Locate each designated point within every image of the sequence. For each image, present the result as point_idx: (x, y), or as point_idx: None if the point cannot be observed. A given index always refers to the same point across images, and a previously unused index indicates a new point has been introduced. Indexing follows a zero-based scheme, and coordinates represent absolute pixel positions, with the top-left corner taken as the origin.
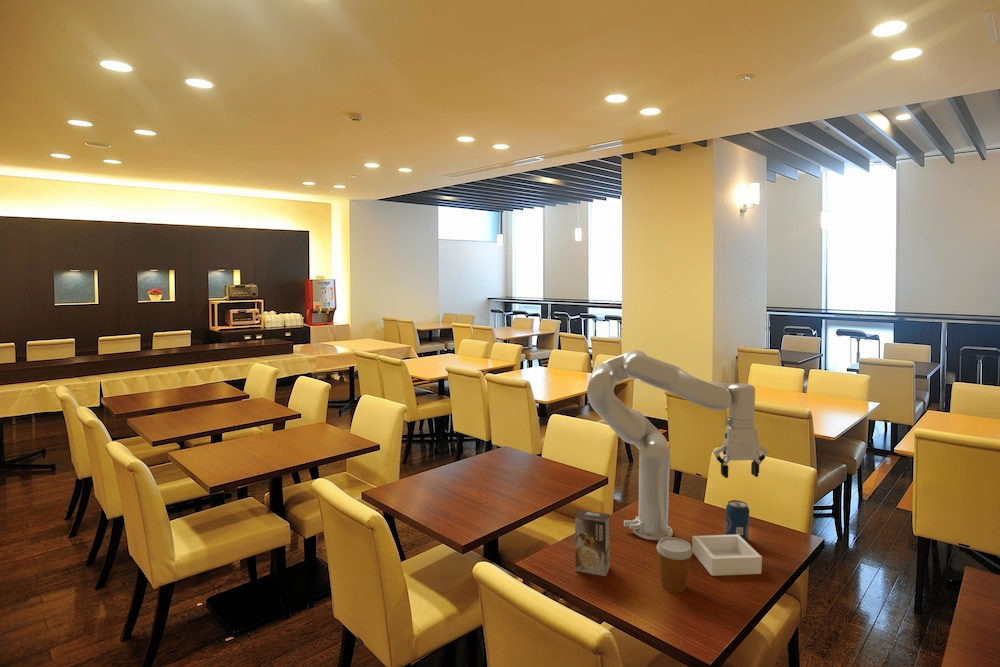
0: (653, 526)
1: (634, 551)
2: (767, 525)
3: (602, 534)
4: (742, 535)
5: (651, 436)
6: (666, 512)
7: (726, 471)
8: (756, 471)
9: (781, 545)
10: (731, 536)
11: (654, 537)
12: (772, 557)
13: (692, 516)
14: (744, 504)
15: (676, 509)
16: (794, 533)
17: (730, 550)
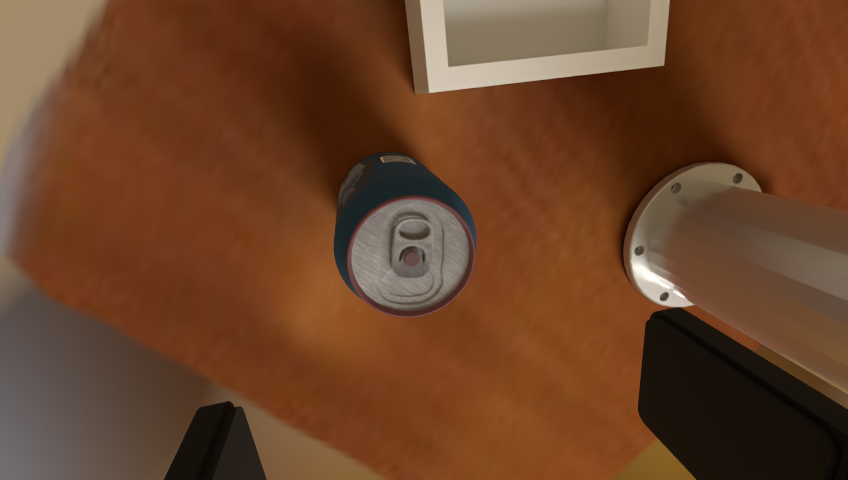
0: (757, 191)
1: (817, 67)
2: (203, 352)
3: None
4: (381, 156)
5: None
6: (754, 230)
7: (759, 359)
8: (201, 476)
9: (187, 154)
10: (475, 65)
11: (725, 164)
12: (270, 16)
13: (494, 388)
14: (363, 264)
15: (531, 434)
16: (87, 288)
17: (462, 59)
